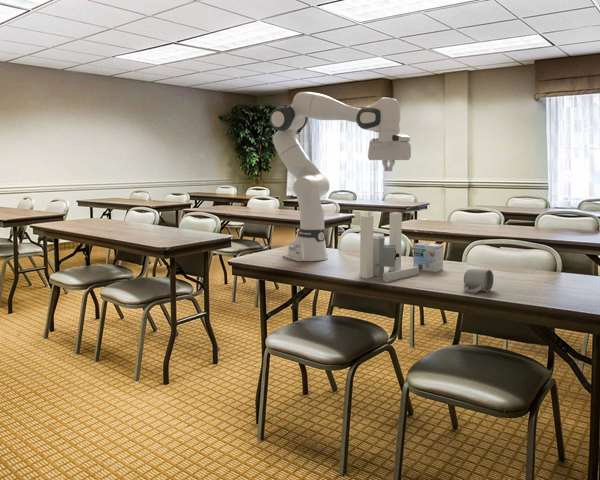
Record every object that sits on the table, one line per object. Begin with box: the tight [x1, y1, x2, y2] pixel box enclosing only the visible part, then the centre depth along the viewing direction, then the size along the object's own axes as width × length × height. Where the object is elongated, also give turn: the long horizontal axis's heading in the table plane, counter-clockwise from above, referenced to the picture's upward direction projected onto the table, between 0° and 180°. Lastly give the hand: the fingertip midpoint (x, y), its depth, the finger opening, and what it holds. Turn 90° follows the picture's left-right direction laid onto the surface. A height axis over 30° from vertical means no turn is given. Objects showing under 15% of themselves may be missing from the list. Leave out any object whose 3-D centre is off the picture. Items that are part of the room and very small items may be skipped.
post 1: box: [359, 215, 374, 279], centre depth 206 cm, size 4×4×24 cm
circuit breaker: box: [373, 235, 399, 277], centre depth 213 cm, size 8×14×15 cm, turn 78°
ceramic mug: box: [463, 268, 494, 294], centre depth 185 cm, size 11×8×8 cm
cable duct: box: [382, 266, 420, 283], centre depth 207 cm, size 2×20×3 cm, turn 132°
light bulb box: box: [412, 241, 445, 273], centre depth 222 cm, size 11×7×11 cm, turn 47°
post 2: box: [388, 211, 403, 272], centre depth 218 cm, size 4×4×24 cm
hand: (388, 171), depth 223 cm, fingers closed
